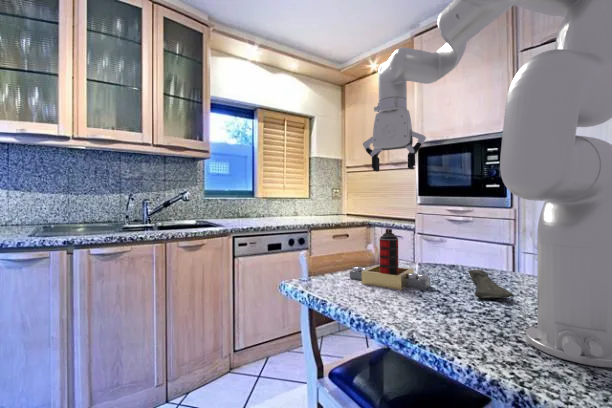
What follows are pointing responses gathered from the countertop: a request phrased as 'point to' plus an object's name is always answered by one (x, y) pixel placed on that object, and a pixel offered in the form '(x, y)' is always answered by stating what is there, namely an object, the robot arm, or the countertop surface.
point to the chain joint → (391, 278)
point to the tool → (487, 286)
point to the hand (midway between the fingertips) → (393, 170)
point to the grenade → (388, 253)
